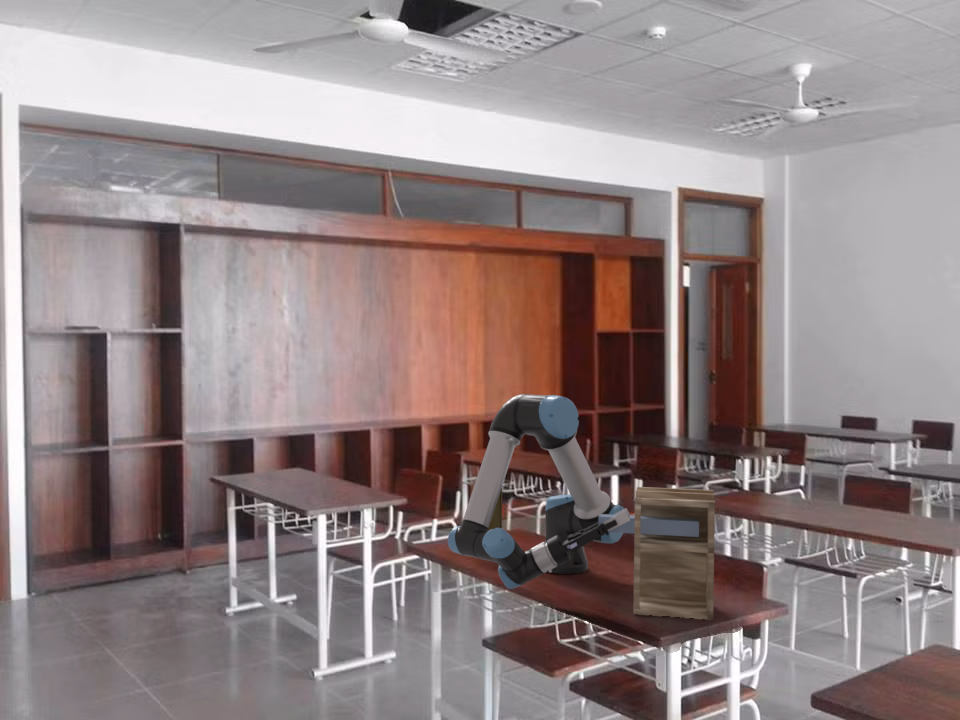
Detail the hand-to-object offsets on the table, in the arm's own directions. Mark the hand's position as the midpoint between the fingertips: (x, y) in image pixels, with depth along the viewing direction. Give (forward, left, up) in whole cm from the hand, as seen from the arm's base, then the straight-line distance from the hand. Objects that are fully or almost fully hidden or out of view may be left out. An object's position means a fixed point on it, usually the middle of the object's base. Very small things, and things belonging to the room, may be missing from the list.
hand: (628, 514), depth 238 cm
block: (0, +5, -5) cm, 7 cm away
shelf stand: (0, +12, -25) cm, 27 cm away
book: (-55, -50, -25) cm, 78 cm away
